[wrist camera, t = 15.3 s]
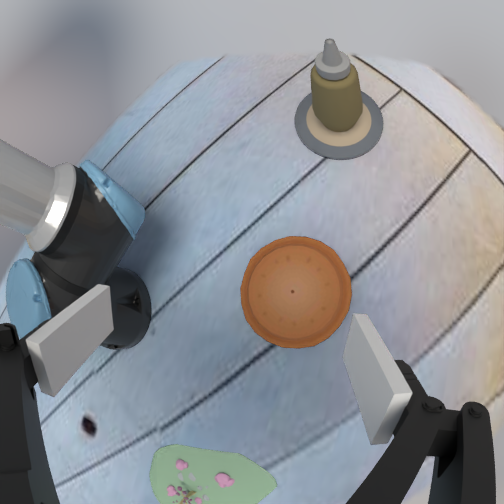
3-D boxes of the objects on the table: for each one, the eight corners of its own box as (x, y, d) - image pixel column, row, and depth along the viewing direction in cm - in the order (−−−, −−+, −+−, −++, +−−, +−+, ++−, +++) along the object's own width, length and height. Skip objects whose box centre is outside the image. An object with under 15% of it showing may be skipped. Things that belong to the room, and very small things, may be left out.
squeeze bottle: (323, 95, 49) (307, 19, 32) (367, 106, 46) (368, 29, 29) (308, 131, 48) (287, 57, 31) (355, 144, 46) (354, 69, 29)
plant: (231, 415, 46) (208, 434, 37) (297, 504, 39) (286, 533, 31) (134, 457, 49) (106, 473, 41) (191, 532, 43) (170, 555, 34)
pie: (344, 235, 45) (344, 226, 40) (354, 340, 42) (355, 345, 37) (244, 247, 49) (234, 240, 45) (251, 347, 46) (240, 351, 42)
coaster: (279, 138, 51) (278, 135, 50) (319, 78, 51) (318, 75, 50) (360, 175, 46) (361, 172, 45) (394, 107, 46) (395, 104, 45)
